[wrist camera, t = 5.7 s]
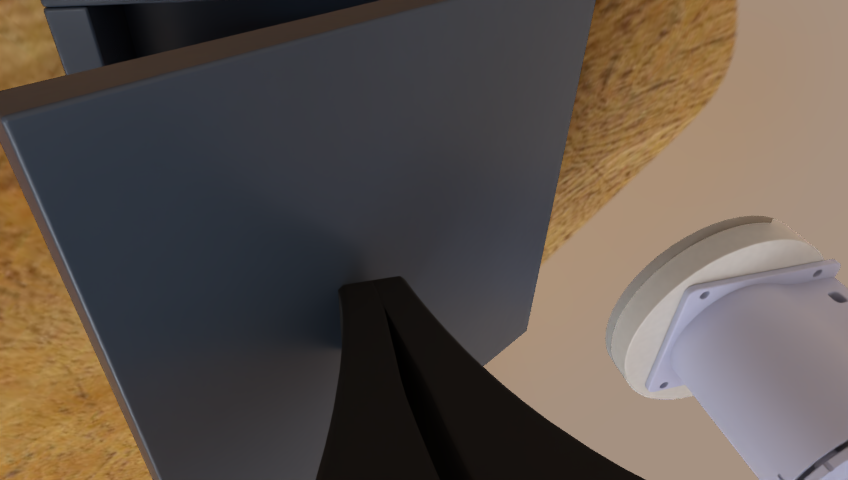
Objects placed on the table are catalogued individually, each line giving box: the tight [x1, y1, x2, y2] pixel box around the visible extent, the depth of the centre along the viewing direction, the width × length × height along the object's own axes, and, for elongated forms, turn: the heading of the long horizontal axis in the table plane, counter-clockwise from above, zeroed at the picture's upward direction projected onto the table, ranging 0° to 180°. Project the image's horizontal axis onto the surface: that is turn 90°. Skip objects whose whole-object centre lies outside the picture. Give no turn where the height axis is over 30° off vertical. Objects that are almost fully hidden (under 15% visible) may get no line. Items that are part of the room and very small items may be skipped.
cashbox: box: [41, 0, 379, 75], centre depth 18 cm, size 12×12×5 cm
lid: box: [0, 0, 596, 480], centre depth 14 cm, size 12×12×1 cm
